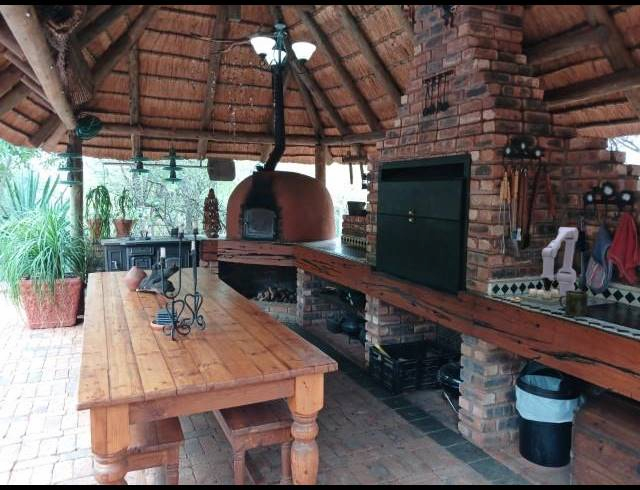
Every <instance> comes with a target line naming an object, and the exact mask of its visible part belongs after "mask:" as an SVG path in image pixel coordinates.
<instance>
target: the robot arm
mask: <svg viewBox="0 0 640 490" xmlns="http://www.w3.org/2000/svg"><path fill="white" fill-rule="evenodd" d="M578 238H579V230H578V228H577V227H564V226H560V227H559V228H558V232H557V236H556V238H555V239H552V240H551V241H550V243H549V244H548V245H547V246H546V247H545V248H543V249H542V251H541V257H542V261H543V262H542V267H543V268H542V274H540V277H542V278H541V281H542V282H543V285H544V287H543V288H544V291H551V287H552V284H553V282H554V277H555V276H554V268H555V266H554V265H555V258H556V257H557V253H558V250H559V249H560V248H561V244H562V243H563V241H564V242H565V248H564V253H563V254H564V255H563V264H562V267H561V268H559V269H558V271H557V274H556V280H557V282H558V283H559V289H558V290H559V292H558V296H566V292H565V291H569V290H575V289H576V286H575V284H574V283H576V281H577V272H576V270H575V269H574V268H573V260H574V252H575V245H576V242H577V241H578Z"/></svg>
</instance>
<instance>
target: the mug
mask: <svg viewBox="0 0 640 490" xmlns="http://www.w3.org/2000/svg"><path fill="white" fill-rule="evenodd" d="M565 292H566V296H561V297H560V298H559V303H558V304H559V305H560V307H561V308H562V309H564V310H565V312H564V313H565V314H567V315H569V316H575V317H577V316H578V317H584V316H587V313H588V312H587V311H588V310H587V309H588V295H589V292H587V291H583V290H569V291H565ZM564 297H566V301H565V306H564V305H563V302H561V299H562V298H564Z"/></svg>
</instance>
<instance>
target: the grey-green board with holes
mask: <svg viewBox="0 0 640 490" xmlns="http://www.w3.org/2000/svg"><path fill="white" fill-rule="evenodd" d="M560 297H561V296H559V295H558V298H552V297H551V300H545V299H543V296H539V295H537V292H536V297H529V293H528V294H524V295H523V294H522V295H520V296H519V299H523V300H522V301H525V302H526V301H527V302H530V303H537V304H543V305H548V306H553V305H556V304H557V305H558V304H560V303H559V298H560ZM561 303H566V297H564V298H562V299H561Z"/></svg>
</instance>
